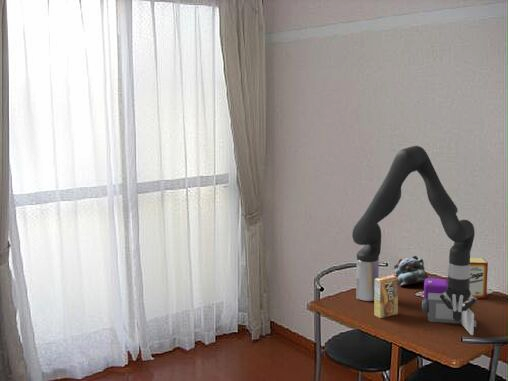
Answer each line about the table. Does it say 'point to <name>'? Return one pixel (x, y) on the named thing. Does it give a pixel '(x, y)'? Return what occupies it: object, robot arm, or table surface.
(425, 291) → the toy camera
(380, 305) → the candy box
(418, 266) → the lucky cat figurine
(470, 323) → the side door
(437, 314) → the camera housing
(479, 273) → the baking soda box
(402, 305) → the table surface
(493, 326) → the table surface
